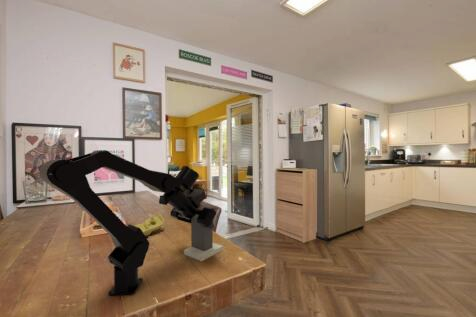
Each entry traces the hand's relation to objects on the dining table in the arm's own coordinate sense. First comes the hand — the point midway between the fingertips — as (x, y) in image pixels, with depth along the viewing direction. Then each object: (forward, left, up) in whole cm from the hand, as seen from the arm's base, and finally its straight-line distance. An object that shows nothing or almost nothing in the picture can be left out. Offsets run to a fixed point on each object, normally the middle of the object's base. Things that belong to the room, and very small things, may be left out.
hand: (204, 225), depth 81 cm
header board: (-2, 0, -9) cm, 9 cm away
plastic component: (+19, +30, -10) cm, 37 cm away
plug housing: (-1, +1, -8) cm, 8 cm away
